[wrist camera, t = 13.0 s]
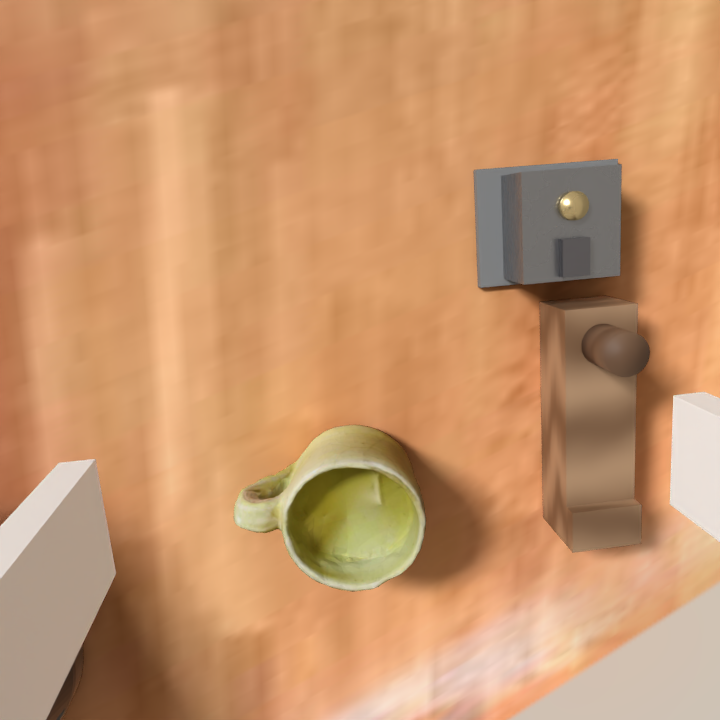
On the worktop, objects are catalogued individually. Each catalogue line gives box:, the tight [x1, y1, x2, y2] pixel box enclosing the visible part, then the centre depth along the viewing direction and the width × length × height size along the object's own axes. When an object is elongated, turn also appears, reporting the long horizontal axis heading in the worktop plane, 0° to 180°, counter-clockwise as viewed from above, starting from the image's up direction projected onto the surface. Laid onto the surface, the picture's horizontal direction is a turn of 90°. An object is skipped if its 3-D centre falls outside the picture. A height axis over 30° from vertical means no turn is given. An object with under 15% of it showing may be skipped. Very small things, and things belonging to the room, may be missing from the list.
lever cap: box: [501, 164, 621, 285], centre depth 43 cm, size 7×6×5 cm
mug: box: [234, 425, 426, 591], centre depth 45 cm, size 12×10×10 cm
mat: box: [474, 159, 618, 288], centre depth 46 cm, size 10×8×1 cm
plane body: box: [540, 296, 650, 553], centre depth 45 cm, size 17×5×8 cm, turn 4°
